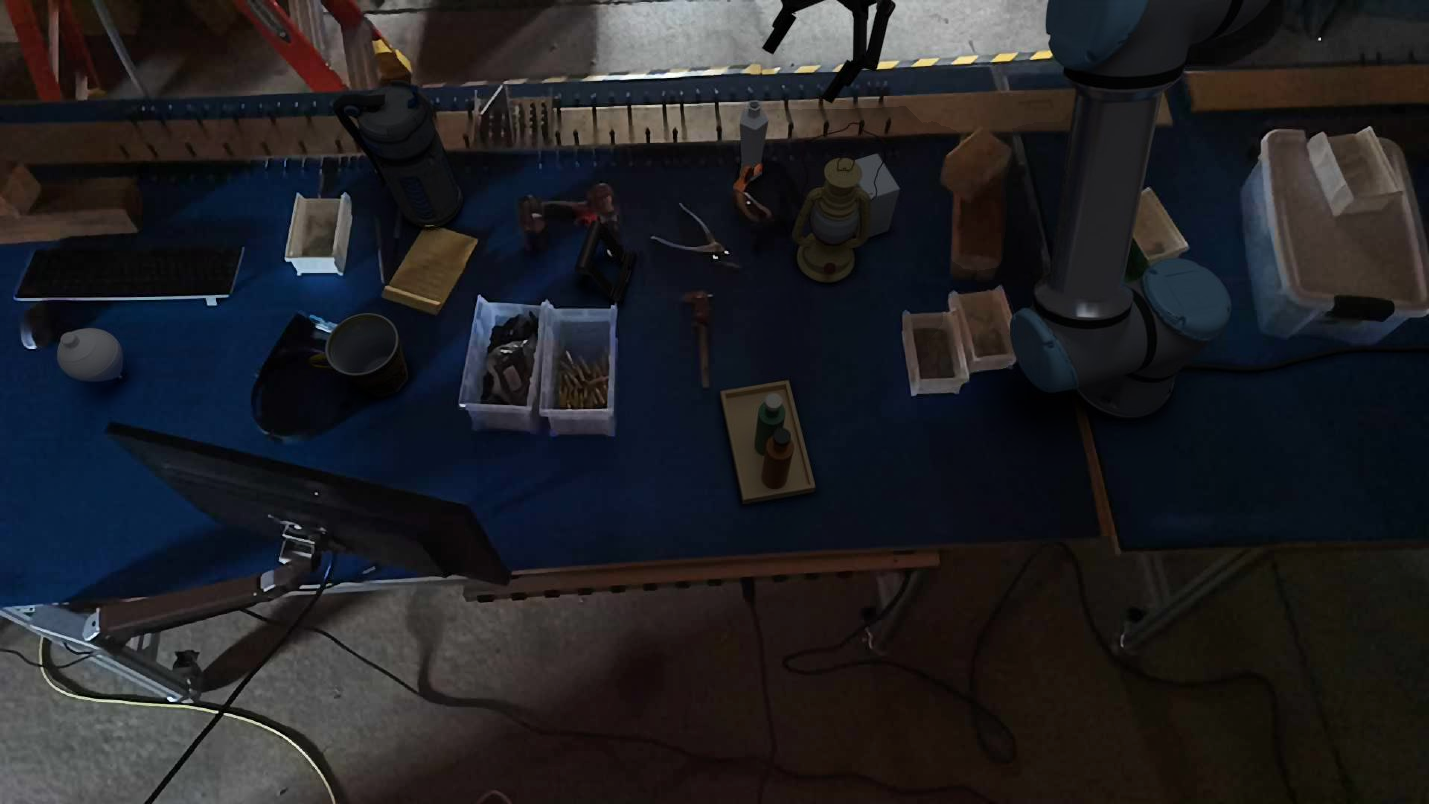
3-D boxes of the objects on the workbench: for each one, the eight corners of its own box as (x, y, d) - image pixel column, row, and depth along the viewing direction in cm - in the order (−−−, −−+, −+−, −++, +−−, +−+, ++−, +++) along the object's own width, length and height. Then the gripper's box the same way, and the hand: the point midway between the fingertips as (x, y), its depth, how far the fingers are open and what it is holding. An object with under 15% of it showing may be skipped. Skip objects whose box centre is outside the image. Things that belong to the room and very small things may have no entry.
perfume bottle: (761, 184, 145) (767, 118, 131) (736, 179, 145) (738, 113, 132) (766, 163, 147) (772, 96, 133) (741, 159, 147) (744, 92, 134)
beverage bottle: (389, 186, 144) (330, 68, 122) (469, 179, 145) (425, 61, 122) (386, 235, 140) (324, 122, 117) (468, 228, 140) (422, 115, 118)
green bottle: (776, 431, 124) (784, 385, 111) (781, 454, 123) (790, 410, 110) (752, 435, 124) (757, 390, 111) (757, 458, 122) (763, 415, 109)
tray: (787, 386, 128) (788, 379, 126) (814, 492, 121) (815, 487, 119) (720, 397, 127) (720, 390, 125) (742, 504, 120) (743, 499, 118)
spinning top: (90, 404, 126) (32, 365, 115) (98, 359, 129) (42, 317, 119) (144, 397, 127) (91, 358, 116) (151, 352, 130) (100, 309, 119)
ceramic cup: (415, 341, 131) (393, 305, 122) (424, 397, 127) (402, 365, 118) (328, 362, 129) (299, 327, 120) (334, 420, 125) (305, 388, 116)
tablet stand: (622, 305, 134) (617, 274, 127) (574, 295, 135) (566, 264, 127) (636, 259, 138) (632, 227, 130) (589, 250, 139) (582, 217, 131)
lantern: (788, 285, 136) (808, 152, 109) (787, 234, 140) (806, 94, 113) (864, 287, 136) (903, 154, 109) (861, 236, 140) (897, 96, 113)
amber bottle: (784, 463, 122) (793, 420, 109) (789, 487, 121) (799, 446, 108) (759, 467, 122) (765, 425, 109) (764, 491, 120) (771, 451, 107)
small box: (888, 232, 141) (901, 189, 131) (857, 242, 140) (868, 200, 130) (867, 195, 144) (878, 151, 135) (836, 205, 143) (845, 161, 134)
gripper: (952, 0, 124) (862, 126, 134) (833, -87, 133) (755, 37, 142) (936, -16, 118) (842, 117, 127) (811, -106, 126) (731, 25, 136)
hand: (796, 75), depth 135 cm, fingers open, 13 cm apart
